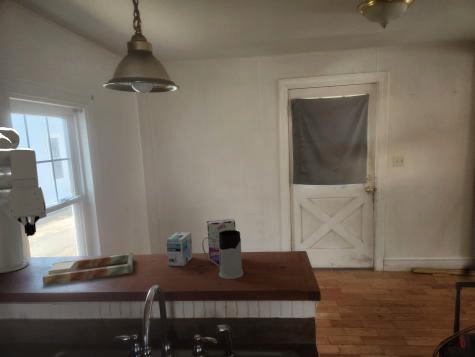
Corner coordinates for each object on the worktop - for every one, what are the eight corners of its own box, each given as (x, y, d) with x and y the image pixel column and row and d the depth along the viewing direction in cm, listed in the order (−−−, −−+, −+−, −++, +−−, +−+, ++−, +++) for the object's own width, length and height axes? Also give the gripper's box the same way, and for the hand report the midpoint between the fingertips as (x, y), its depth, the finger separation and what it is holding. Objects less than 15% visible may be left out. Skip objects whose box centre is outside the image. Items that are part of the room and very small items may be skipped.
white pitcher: (243, 278, 104) (242, 235, 103) (202, 280, 104) (200, 237, 103) (242, 268, 113) (241, 229, 112) (204, 270, 113) (203, 230, 112)
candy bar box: (235, 257, 125) (233, 218, 124) (237, 261, 121) (235, 220, 119) (208, 260, 123) (206, 220, 122) (209, 264, 118) (207, 223, 117)
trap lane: (43, 285, 104) (42, 277, 104) (54, 270, 118) (53, 263, 117) (132, 272, 113) (131, 264, 113) (133, 260, 126) (132, 253, 126)
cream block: (49, 281, 108) (48, 270, 108) (55, 274, 115) (54, 263, 114) (70, 278, 110) (70, 268, 109) (75, 271, 117) (75, 261, 116)
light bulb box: (183, 266, 117) (182, 239, 116) (167, 266, 118) (165, 239, 117) (193, 257, 127) (191, 232, 126) (178, 256, 129) (176, 231, 128)
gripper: (-5, 186, 101) (1, 240, 102) (46, 183, 105) (51, 235, 107) (5, 184, 108) (10, 235, 109) (52, 181, 112) (57, 230, 114)
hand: (30, 235), depth 108 cm, fingers closed
